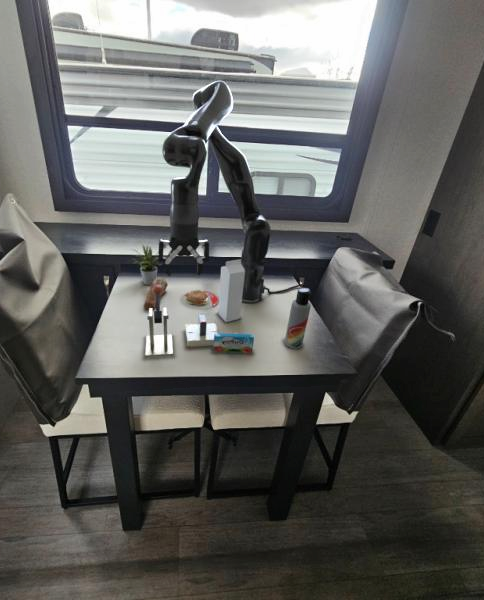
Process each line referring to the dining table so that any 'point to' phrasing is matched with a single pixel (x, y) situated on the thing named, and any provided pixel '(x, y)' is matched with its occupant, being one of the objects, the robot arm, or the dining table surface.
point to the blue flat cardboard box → (233, 343)
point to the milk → (231, 290)
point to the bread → (151, 297)
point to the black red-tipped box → (202, 325)
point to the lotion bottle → (298, 319)
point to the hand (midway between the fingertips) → (183, 274)
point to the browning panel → (195, 338)
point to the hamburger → (200, 297)
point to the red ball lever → (157, 303)
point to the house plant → (147, 266)
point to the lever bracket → (158, 338)
